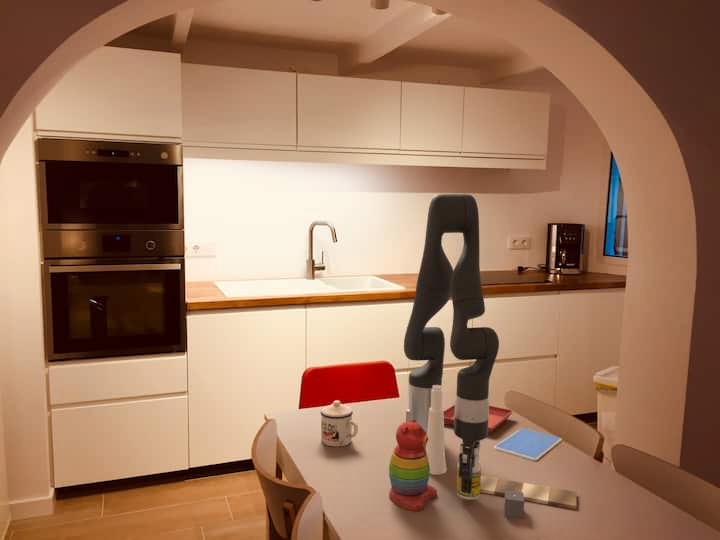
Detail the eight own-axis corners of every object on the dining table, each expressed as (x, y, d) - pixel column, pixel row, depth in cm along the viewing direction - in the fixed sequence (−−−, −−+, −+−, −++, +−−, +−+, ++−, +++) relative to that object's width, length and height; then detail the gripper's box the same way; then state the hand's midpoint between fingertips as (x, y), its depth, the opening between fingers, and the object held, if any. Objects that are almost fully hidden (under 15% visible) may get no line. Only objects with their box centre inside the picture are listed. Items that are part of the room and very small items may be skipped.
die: (504, 516, 128) (504, 498, 127) (503, 507, 132) (504, 490, 131) (523, 518, 127) (524, 501, 126) (522, 509, 131) (523, 492, 130)
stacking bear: (419, 513, 128) (421, 435, 126) (379, 501, 134) (380, 425, 132) (439, 493, 137) (441, 420, 135) (401, 482, 143) (403, 411, 141)
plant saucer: (436, 425, 181) (436, 414, 181) (461, 408, 196) (461, 399, 196) (491, 438, 171) (492, 427, 171) (513, 420, 186) (514, 410, 186)
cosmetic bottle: (427, 462, 154) (429, 381, 151) (449, 467, 151) (452, 384, 149) (419, 472, 148) (421, 387, 146) (442, 477, 146) (444, 391, 143)
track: (468, 489, 139) (468, 486, 139) (473, 477, 146) (473, 474, 146) (576, 509, 131) (576, 506, 131) (576, 495, 137) (576, 491, 137)
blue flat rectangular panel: (521, 430, 178) (522, 426, 178) (562, 441, 170) (563, 437, 170) (492, 451, 163) (492, 446, 163) (536, 463, 155) (536, 459, 155)
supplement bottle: (468, 486, 138) (470, 447, 136) (485, 496, 133) (487, 456, 132) (451, 492, 135) (452, 452, 133) (467, 502, 130) (469, 461, 129)
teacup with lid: (313, 441, 166) (313, 402, 165) (334, 432, 174) (334, 394, 172) (346, 453, 159) (347, 411, 158) (366, 442, 166) (367, 402, 165)
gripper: (483, 429, 124) (480, 504, 126) (492, 406, 137) (489, 475, 139) (448, 423, 126) (445, 497, 128) (461, 402, 140) (458, 469, 142)
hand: (468, 485), depth 134 cm, fingers closed on supplement bottle, 5 cm apart
